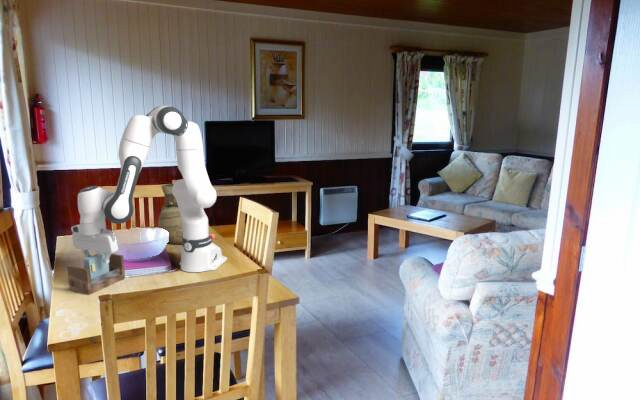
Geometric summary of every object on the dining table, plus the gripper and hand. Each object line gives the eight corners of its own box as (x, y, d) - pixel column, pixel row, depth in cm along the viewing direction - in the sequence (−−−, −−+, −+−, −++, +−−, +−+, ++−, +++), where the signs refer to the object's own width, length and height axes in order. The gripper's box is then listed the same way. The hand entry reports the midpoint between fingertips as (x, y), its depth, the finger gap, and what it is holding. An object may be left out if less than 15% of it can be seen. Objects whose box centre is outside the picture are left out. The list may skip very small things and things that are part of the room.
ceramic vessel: (207, 238, 246) (205, 183, 240) (177, 248, 228) (174, 189, 222) (182, 233, 256) (179, 180, 249) (151, 242, 238) (147, 186, 231)
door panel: (104, 275, 188) (102, 252, 186) (110, 276, 186) (108, 253, 184) (85, 283, 180) (83, 258, 178) (92, 284, 178) (90, 260, 176)
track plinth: (106, 274, 194) (104, 252, 192) (125, 278, 190) (123, 255, 188) (69, 290, 177) (67, 266, 175) (89, 294, 174) (86, 269, 172)
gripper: (120, 228, 178) (123, 262, 181) (81, 223, 185) (85, 255, 189) (107, 232, 172) (111, 267, 175) (67, 227, 180) (72, 260, 183)
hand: (97, 261), depth 182 cm, fingers open, 8 cm apart
